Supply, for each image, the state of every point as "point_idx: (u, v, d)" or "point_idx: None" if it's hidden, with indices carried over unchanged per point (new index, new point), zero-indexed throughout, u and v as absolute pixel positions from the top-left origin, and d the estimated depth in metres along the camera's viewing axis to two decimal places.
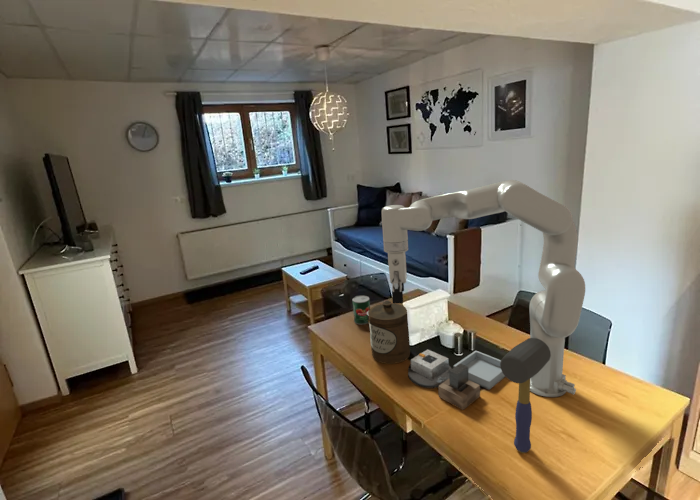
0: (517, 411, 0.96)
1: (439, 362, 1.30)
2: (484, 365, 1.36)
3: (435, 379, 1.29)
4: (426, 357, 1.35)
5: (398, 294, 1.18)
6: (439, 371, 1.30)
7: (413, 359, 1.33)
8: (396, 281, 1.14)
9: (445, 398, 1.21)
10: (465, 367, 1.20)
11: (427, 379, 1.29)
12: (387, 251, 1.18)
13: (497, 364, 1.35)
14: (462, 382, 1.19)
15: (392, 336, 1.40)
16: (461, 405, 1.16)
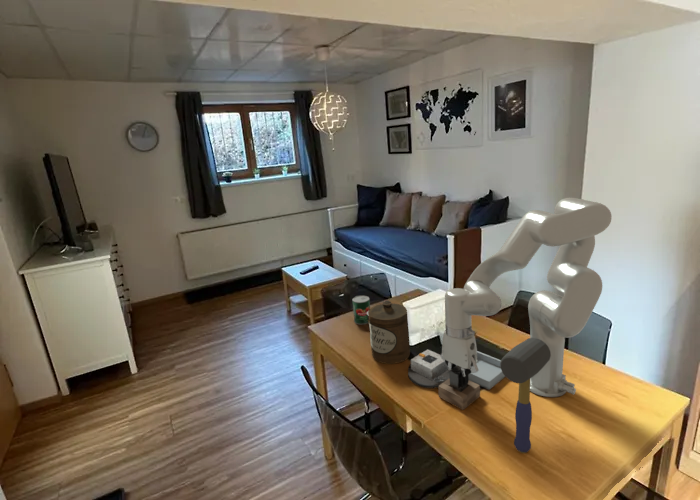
0: (517, 411, 0.96)
1: (439, 362, 1.30)
2: (484, 365, 1.36)
3: (435, 379, 1.29)
4: (426, 357, 1.35)
5: (467, 376, 1.18)
6: (439, 371, 1.30)
7: (413, 359, 1.33)
8: (477, 370, 1.14)
9: (445, 398, 1.21)
10: None
11: (427, 379, 1.29)
12: (461, 338, 1.13)
13: (497, 364, 1.35)
14: None
15: (392, 336, 1.40)
16: (461, 405, 1.16)
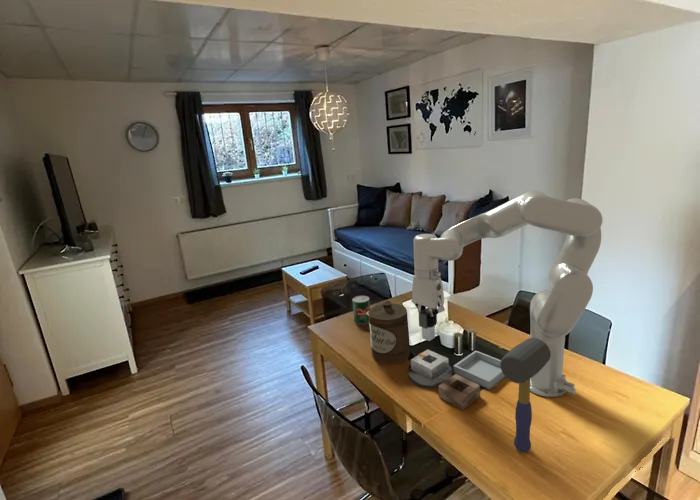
0: (517, 411, 0.96)
1: (439, 362, 1.30)
2: (484, 365, 1.36)
3: (435, 379, 1.29)
4: (426, 357, 1.35)
5: (435, 317, 1.27)
6: (439, 371, 1.30)
7: (413, 359, 1.33)
8: (443, 309, 1.23)
9: (445, 398, 1.21)
10: (433, 309, 1.29)
11: (427, 379, 1.29)
12: (428, 279, 1.21)
13: (497, 364, 1.35)
14: None
15: (392, 336, 1.40)
16: (461, 405, 1.16)
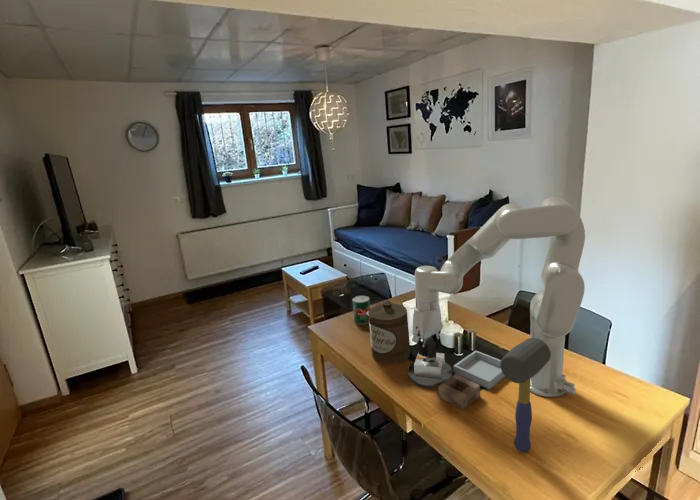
0: (517, 411, 0.96)
1: (441, 359, 1.32)
2: (484, 365, 1.36)
3: (435, 379, 1.29)
4: None
5: None
6: (442, 368, 1.32)
7: (416, 363, 1.31)
8: None
9: (445, 398, 1.21)
10: (430, 337, 1.33)
11: (427, 379, 1.29)
12: None
13: (497, 364, 1.35)
14: None
15: (392, 336, 1.40)
16: (461, 405, 1.16)
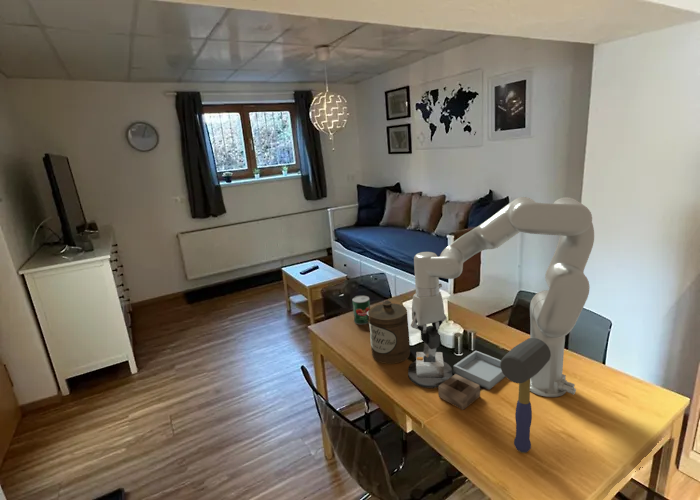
0: (517, 411, 0.96)
1: (440, 358, 1.33)
2: (484, 365, 1.36)
3: (435, 379, 1.29)
4: (423, 359, 1.34)
5: None
6: None
7: (418, 365, 1.30)
8: None
9: (445, 398, 1.21)
10: (431, 327, 1.30)
11: (427, 379, 1.29)
12: (439, 293, 1.25)
13: (497, 364, 1.35)
14: None
15: (392, 336, 1.40)
16: (461, 405, 1.16)
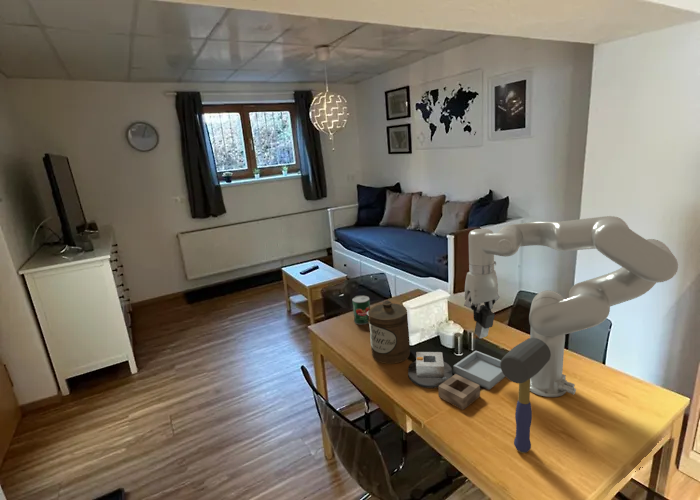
0: (517, 411, 0.96)
1: (440, 358, 1.33)
2: (484, 365, 1.36)
3: (435, 379, 1.29)
4: (423, 359, 1.34)
5: None
6: None
7: (418, 365, 1.30)
8: None
9: (445, 398, 1.21)
10: (483, 306, 1.27)
11: (427, 379, 1.29)
12: (494, 271, 1.22)
13: (497, 364, 1.35)
14: None
15: (392, 336, 1.40)
16: (461, 405, 1.16)
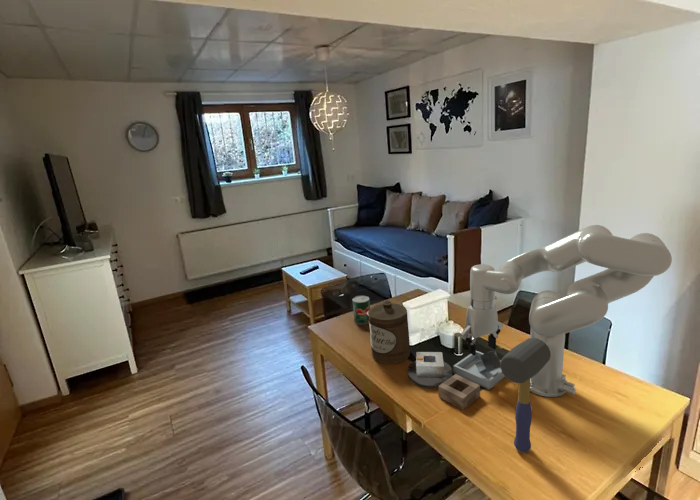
0: (517, 411, 0.96)
1: (440, 358, 1.33)
2: None
3: (435, 379, 1.29)
4: (423, 359, 1.34)
5: None
6: None
7: (418, 365, 1.30)
8: (501, 323, 1.32)
9: (445, 398, 1.21)
10: (494, 352, 1.27)
11: (427, 379, 1.29)
12: (494, 305, 1.25)
13: None
14: None
15: (392, 336, 1.40)
16: (461, 405, 1.16)
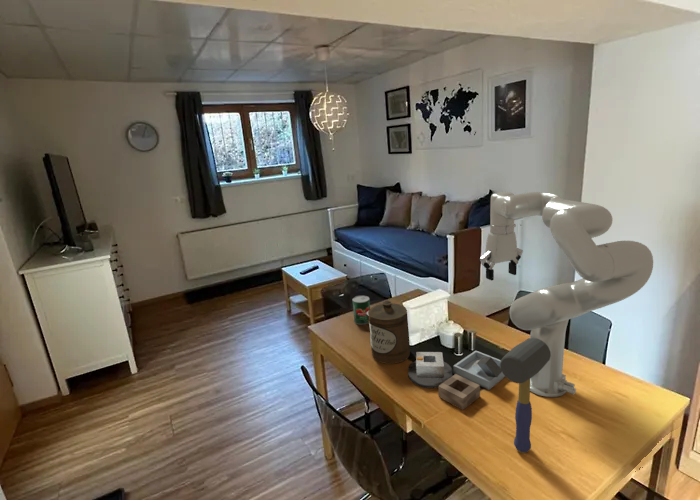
0: (517, 411, 0.96)
1: (440, 358, 1.33)
2: None
3: (435, 379, 1.29)
4: (423, 359, 1.34)
5: None
6: None
7: (418, 365, 1.30)
8: (520, 249, 1.36)
9: (445, 398, 1.21)
10: (491, 360, 1.24)
11: (427, 379, 1.29)
12: (513, 232, 1.30)
13: (497, 364, 1.35)
14: None
15: (392, 336, 1.40)
16: (461, 405, 1.16)
